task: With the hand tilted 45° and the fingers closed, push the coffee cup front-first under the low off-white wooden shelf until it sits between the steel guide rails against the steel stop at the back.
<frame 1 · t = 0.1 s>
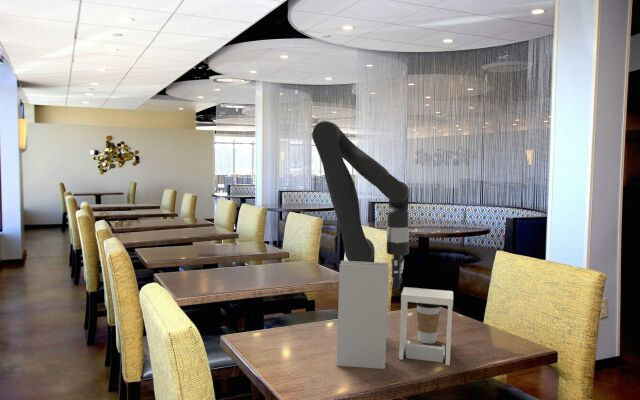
hand: (397, 286, 176), 17 cm above the table, tool pointing down, fingers open, 8 cm apart
shelf: (424, 356, 159), on the table
coffee cup: (426, 341, 174), on the table
tall white box: (360, 364, 152), on the table
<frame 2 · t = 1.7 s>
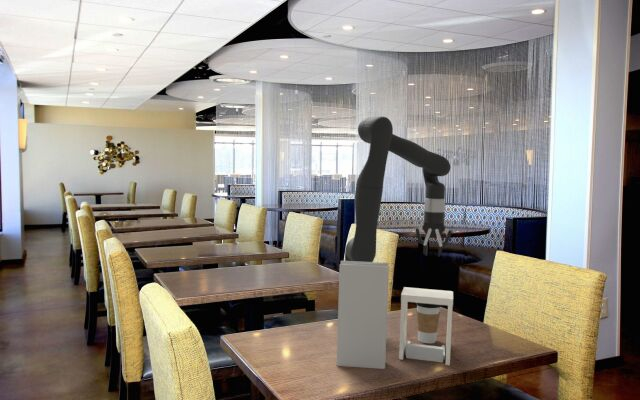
hand: (432, 255, 194), 25 cm above the table, tool pointing down, fingers open, 4 cm apart
nothing on the table moved.
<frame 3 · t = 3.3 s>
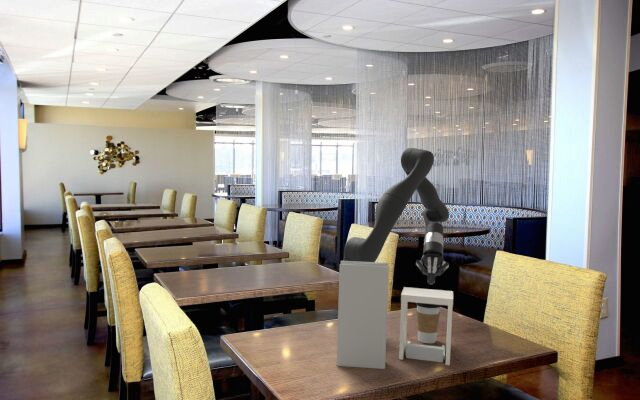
hand: (431, 283, 192), 15 cm above the table, tool tilted 45°, fingers closed
nothing on the table moved.
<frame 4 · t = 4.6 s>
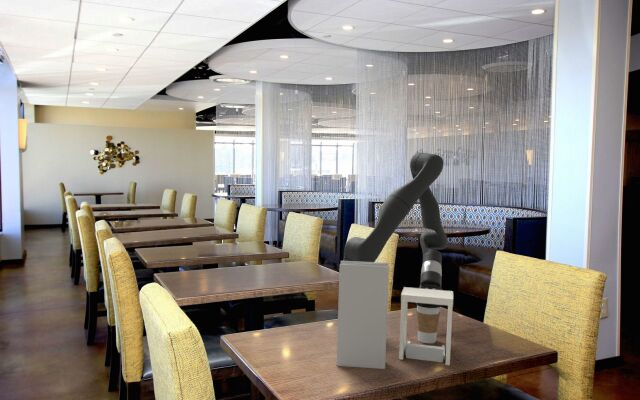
hand: (428, 316, 181), 6 cm above the table, tool tilted 45°, fingers closed
nothing on the table moved.
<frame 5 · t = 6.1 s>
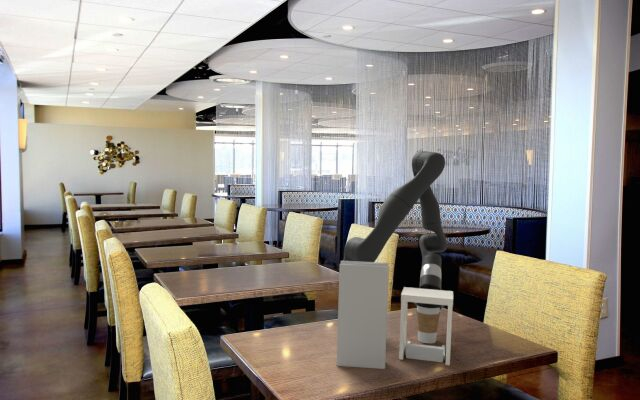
hand: (427, 321, 177), 5 cm above the table, tool tilted 45°, fingers closed
coffee cup: (426, 341, 174), on the table, touching gripper
everything else where it was.
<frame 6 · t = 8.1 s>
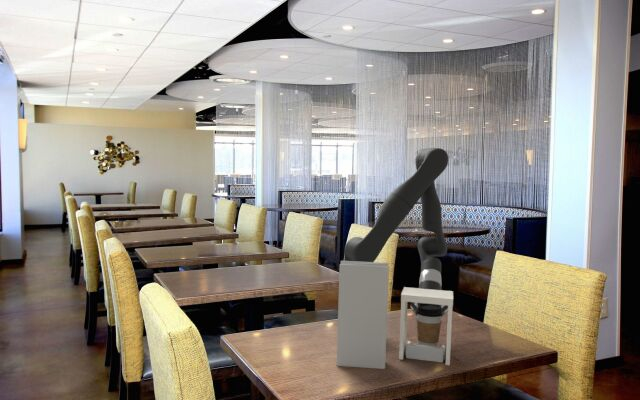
hand: (427, 330, 167), 5 cm above the table, tool tilted 45°, fingers closed
coffee cup: (427, 351, 164), on the table, touching gripper
everything else where it was.
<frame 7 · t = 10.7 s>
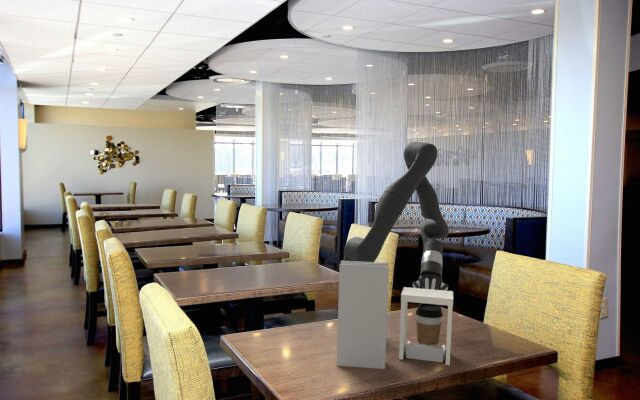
hand: (428, 307, 178), 10 cm above the table, tool tilted 45°, fingers closed
coffee cup: (427, 353, 163), on the table
everything else where it was.
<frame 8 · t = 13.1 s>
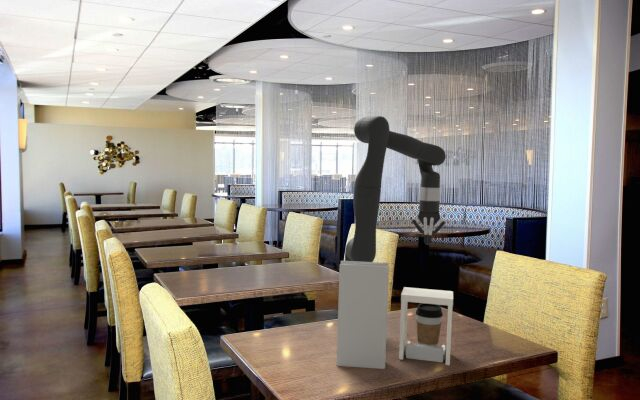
hand: (427, 244, 196), 29 cm above the table, tool pointing down, fingers closed
nothing on the table moved.
at the end: coffee cup 1.0 cm from the target spot on the shelf, point 0.0 cm above the shelf's base; coffee cup tilted 0° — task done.
